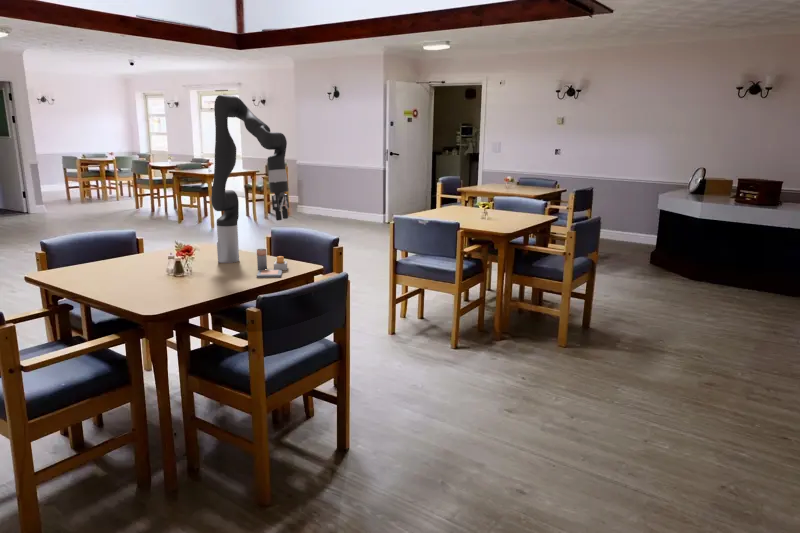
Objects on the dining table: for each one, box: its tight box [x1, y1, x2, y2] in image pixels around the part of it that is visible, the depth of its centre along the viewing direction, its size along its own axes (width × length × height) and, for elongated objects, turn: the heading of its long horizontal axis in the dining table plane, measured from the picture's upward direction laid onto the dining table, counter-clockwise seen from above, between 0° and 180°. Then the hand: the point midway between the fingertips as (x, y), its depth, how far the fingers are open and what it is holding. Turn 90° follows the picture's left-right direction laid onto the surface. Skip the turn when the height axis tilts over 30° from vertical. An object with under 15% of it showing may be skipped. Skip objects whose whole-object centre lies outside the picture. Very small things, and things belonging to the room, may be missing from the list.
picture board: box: [256, 269, 283, 279], centre depth 242 cm, size 10×10×1 cm
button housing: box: [273, 260, 288, 271], centre depth 252 cm, size 6×6×3 cm
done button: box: [276, 255, 285, 264], centre depth 251 cm, size 3×3×3 cm
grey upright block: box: [256, 248, 268, 271], centre depth 250 cm, size 4×4×9 cm
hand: (282, 219), depth 239 cm, fingers open, 8 cm apart
